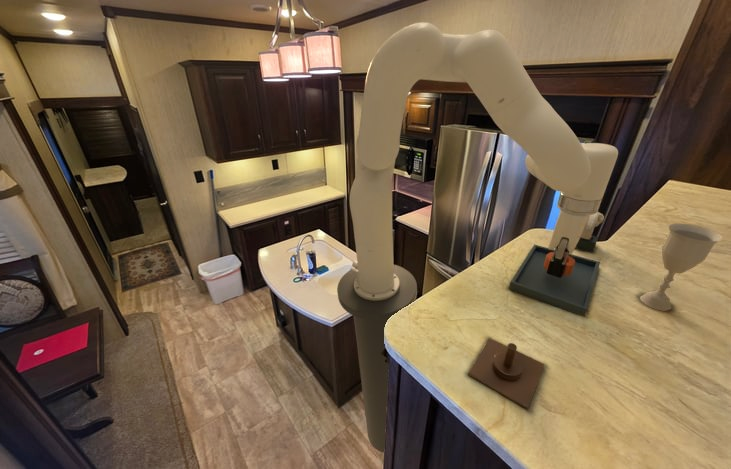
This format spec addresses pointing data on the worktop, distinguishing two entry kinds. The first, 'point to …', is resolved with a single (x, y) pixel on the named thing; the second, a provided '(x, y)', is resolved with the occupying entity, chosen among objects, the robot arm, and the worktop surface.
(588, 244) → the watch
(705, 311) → the worktop surface
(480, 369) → the stand
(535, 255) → the tray
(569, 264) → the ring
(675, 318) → the worktop surface
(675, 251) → the chalice
